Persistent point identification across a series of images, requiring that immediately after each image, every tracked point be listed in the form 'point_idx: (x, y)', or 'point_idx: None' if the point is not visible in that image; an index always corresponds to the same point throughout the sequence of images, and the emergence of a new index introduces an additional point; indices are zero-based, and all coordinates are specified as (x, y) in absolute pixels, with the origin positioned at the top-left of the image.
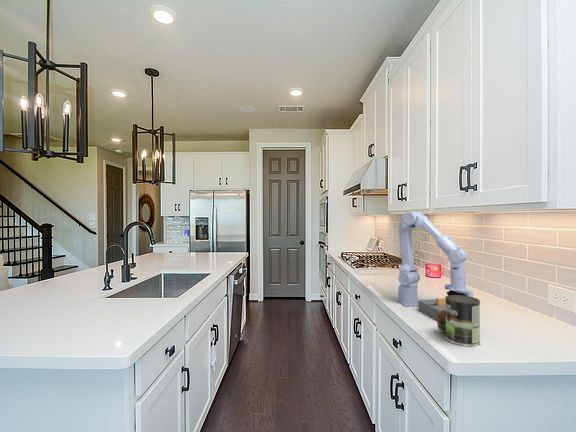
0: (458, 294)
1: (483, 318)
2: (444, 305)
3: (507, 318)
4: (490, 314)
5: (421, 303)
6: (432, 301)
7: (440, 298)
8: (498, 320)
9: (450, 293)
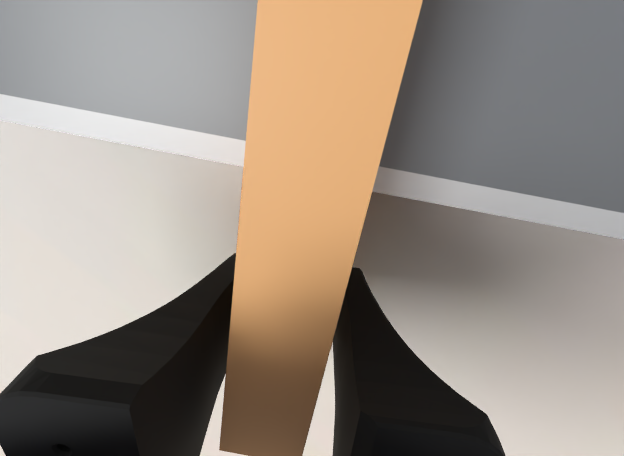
0: (106, 449)
1: None
2: (250, 50)
3: None
4: None
5: None
6: (619, 33)
7: (347, 33)
8: None
9: (360, 429)
